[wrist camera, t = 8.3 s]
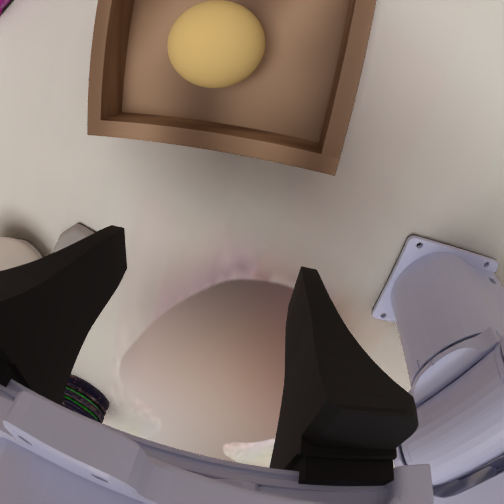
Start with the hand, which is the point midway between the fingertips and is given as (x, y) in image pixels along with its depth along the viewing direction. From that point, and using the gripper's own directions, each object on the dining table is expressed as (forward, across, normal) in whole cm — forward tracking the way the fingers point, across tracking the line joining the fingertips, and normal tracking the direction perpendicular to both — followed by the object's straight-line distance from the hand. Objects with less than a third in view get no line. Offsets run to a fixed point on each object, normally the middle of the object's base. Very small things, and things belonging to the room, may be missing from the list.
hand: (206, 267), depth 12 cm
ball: (+10, +2, -8) cm, 13 cm away
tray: (+10, +2, -8) cm, 13 cm away
